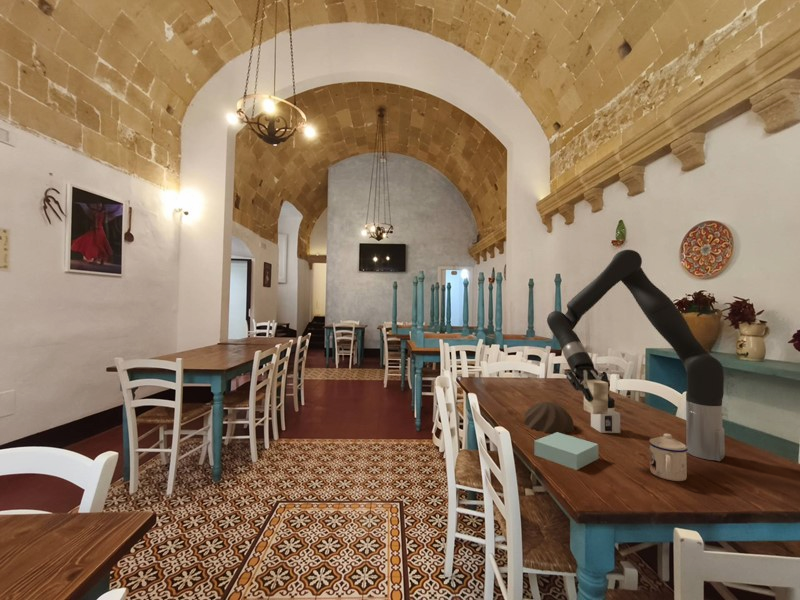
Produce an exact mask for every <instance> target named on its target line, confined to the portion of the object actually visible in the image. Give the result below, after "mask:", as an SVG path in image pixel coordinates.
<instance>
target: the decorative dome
mask: <svg viewBox="0 0 800 600" xmlns="http://www.w3.org/2000/svg"><path fill="white" fill-rule="evenodd" d="M524 414H525V415H524V421H523V423H522V424H523V425H524V424H525V425H524V426H527V427H528V426H529V427H528V428H529V429H530V430H534V429H535V431H539V432H541V433H545V434H554V433H556V432H558V433H562V434H566V433H573V432H574V430H575V425H574V424H575V423H574V420H573V417H572V416H571V415H570V413H569V412H568V411H567V410H566V409H565V408H563V407H562V406H560V405H559V404H557V403H555V402H552V401H540V402H537V403H535V404H533V405H532V406H531V407H529V409H527V410H526V412H525V413H524Z"/></svg>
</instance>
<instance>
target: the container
mask: <svg viewBox="0 0 800 600" xmlns="http://www.w3.org/2000/svg"><path fill="white" fill-rule="evenodd" d="M615 402H616V401H615V399H614V398H613V397H611V396H610V399H609V400H608V414H592V413H590V427H591V428H592V429H594V430H596V431H597V432H599V433H600V434H621V412H618V411H616V410H615V406H616V405H615Z"/></svg>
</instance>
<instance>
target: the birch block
mask: <svg viewBox="0 0 800 600" xmlns="http://www.w3.org/2000/svg"><path fill="white" fill-rule="evenodd" d="M586 384H587V386H588V388H587V389H589V390H590V392H591V394H592V396H593V400H592V402H588V400H586V398H585V396H584V395H583V411H585V412H588V413H589V414H591V413H592V414H608V394H609V388H608V383H607V382H604V381H601V380H586Z"/></svg>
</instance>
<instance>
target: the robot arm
mask: <svg viewBox="0 0 800 600" xmlns="http://www.w3.org/2000/svg"><path fill="white" fill-rule="evenodd" d="M642 262H643V260H642V256H641V255H640V253H639V252H637V251H636V250H633V249H624V250H621V251H619V252H617V253H616V254H615V255H614V256H613V258H612V260H611V261H610V262H609V264H608V265H607V266H606V267H605V269H604V270H603V271H602V272H601V273H600V274H599V275H597V276H596V278H594V279H593V280H592V281H591V282H590V283H588V285H586V286H585V287H583V289H581V291H579V292H578V293H577V294H575V295H574V297H572V299H570V301H568V302H567V304H566V308H567V311H566V312H565V313H563V312H562V311H559V310H555V311H551V312H550V313H549V314H548V315H547V319H546V322H547V326H548V327H549V329H550V330H551V333H552V334H553V336H554V337H555V339H556V340H557V342H558V344H559V347H560V348H561V350H562V353H563V356H564V358H565V360H566V361H565V362H567V364H568V366H569V369H570V371H568V373H567V375H566V379H567V380H568V382H569V383H570V384H571V386H572V387H573V389H574V390H575V391H580V392H581V393H582V394H583V397H584V396H585V398H586V400H588V402H592V400H593V396H592V394H591V392H590V390H589V389H587V388H588V386H587V384H586V380H601V381H604V382H607V383H608V389H609V388H610V386H611V384H610V380H609V376H608V374H607V372H606V371H603V372H599V371H598V370H596V368H595V365H594V364H595V363H594V362H593V360H592V358H591V356H590V355H589V352H588V351H587V349H586V348H585V345H583V343H582V342H581V339H580V338H579V336H578V334H577V333H576V332H575V331H574V329H575V327H576V326H577V325H578V323H579V322H580V321H581V319H582V317H583V316H584V315H585V314H586V313H587V312H588V311H589V310H591V308H593V307H594V306H595V305H596V304H597V303H598V302H599V301H600V300H601V299H602V298H603V297H604V296H605V295H606V294H607V293H608V292H610V290H611V289H612V288H613V287H615V286H616V285H617V284H618V283H620V282H621V283H623V285H624V286H625V287H626V288H627V290H629V292H630V294H632V297H633V298H634V300H635V302H636V303H637V304H638V306H639V308H640V309H641V311H642V312H643V314H644V315H645V317H646V319H648V321H649V322H650V324H651V325H652V326H653V327H654V329H655V330H656V331H657V332H658V333H659V335H661V337H662V338H663V339H664V340H665V341H666V342H667V343H668V344H669V346H671V347H672V348H673V350H674V352H675V353H676V355H677V356H678V358H679V360H680V362H681V364H682V365H683V367H684V370H685V371H686V393H685V401H686V402H685V415H686V416H685V417H686V418H685V419H686V420H685V423H686V424H685V425H686V426H685V428H686V430H685V431H686V432H685V433H686V438H685V439H686V444H685V445H686V447H687V449H688V450H687V451H686V453H687V454H689V455H691V456H693V457H697V458H700V459H704V460H709V461H717V462H721V461H723V459H724V458H725V455H726V454H725V428H724V427H723V398H724V391H725V390H724V388H725V386H724V384H725V380H724V379H725V376H724V375H725V371H724V367H723V364H722V363H721V362H720V361H719V360H718V359H717V358H716V357H714V356H713V355H712V354H710V353H709V352H708V351H707V349H706V348H705V347H704V346H703V345H702V344H701V343H700V342H699V341H698V339H697V338H696V337H695V335H694V334H693V331H692V330H691V327H690V326H689V323H688V321H686V319H685V317H684V316H683V314H682V313H681V311H680V310H679V308H678V307H677V306H676V304H675V303H674V301H672V299H671V298H670V297H668V295H667V294H665V292H663V291H662V290H661V289H660V288H658V287H657V285H655V284H654V283H653V282H652V281H651V280H650V278H648V276H647V274H646V273H645V272H644V269H643V268H642V264H643V263H642ZM610 397H611V396H610V395H609V393H608V400H609V399H610Z"/></svg>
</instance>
